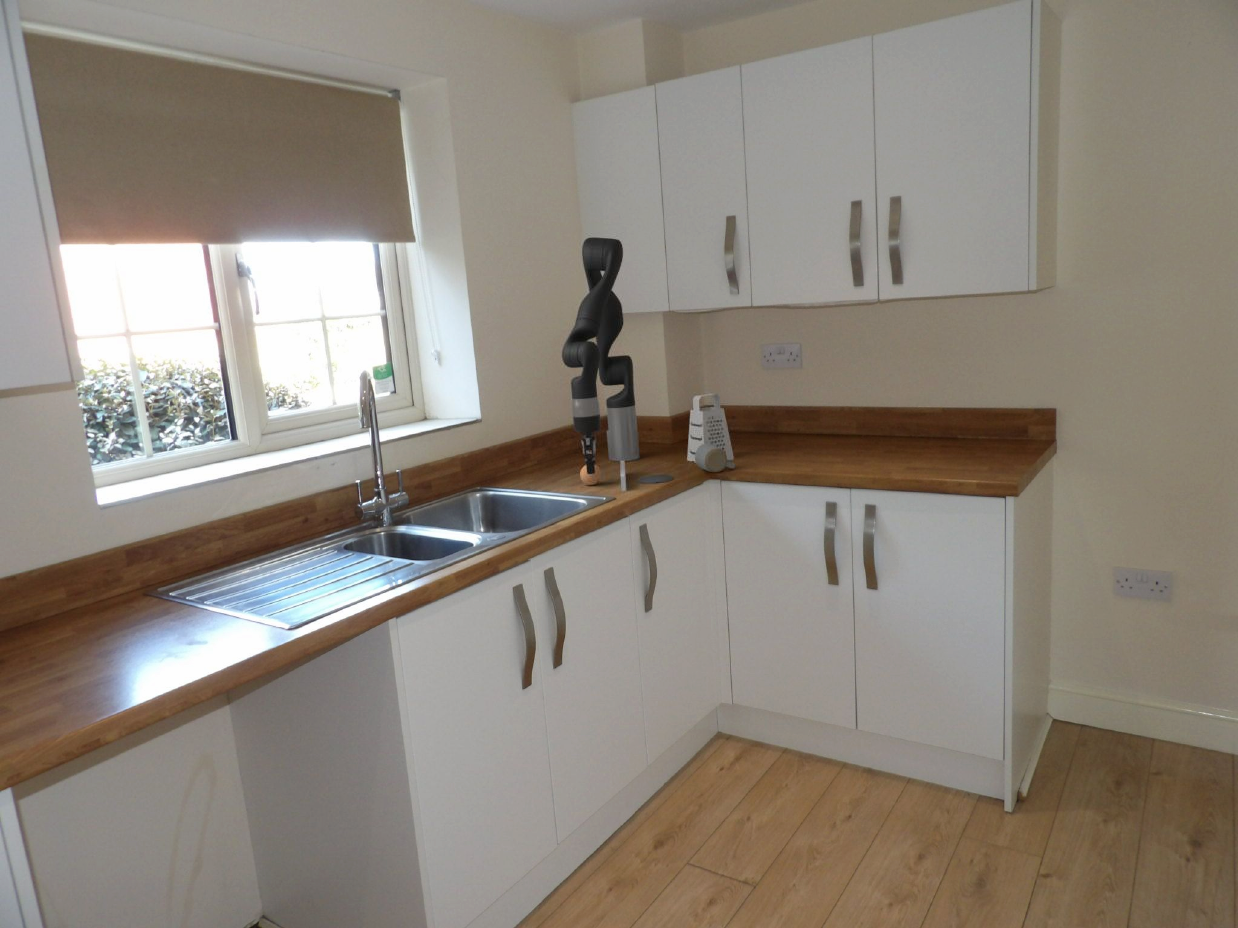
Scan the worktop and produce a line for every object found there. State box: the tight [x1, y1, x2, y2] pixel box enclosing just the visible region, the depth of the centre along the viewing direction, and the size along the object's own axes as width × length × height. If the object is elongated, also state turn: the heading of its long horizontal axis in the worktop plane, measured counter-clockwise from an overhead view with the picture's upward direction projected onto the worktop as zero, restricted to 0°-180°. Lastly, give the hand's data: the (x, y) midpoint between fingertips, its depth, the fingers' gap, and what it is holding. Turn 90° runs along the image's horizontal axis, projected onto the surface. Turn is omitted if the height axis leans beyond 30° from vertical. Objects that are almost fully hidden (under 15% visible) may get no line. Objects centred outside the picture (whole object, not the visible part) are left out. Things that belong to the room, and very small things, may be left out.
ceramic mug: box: [695, 443, 736, 473], centre depth 258 cm, size 11×8×8 cm
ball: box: [579, 464, 602, 486], centre depth 253 cm, size 6×6×6 cm
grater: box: [686, 393, 735, 463], centre depth 275 cm, size 10×10×20 cm
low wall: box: [619, 461, 627, 492], centre depth 253 cm, size 24×1×4 cm, turn 0°
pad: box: [637, 474, 674, 484], centre depth 253 cm, size 10×10×1 cm
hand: (591, 471), depth 252 cm, fingers open, 8 cm apart
